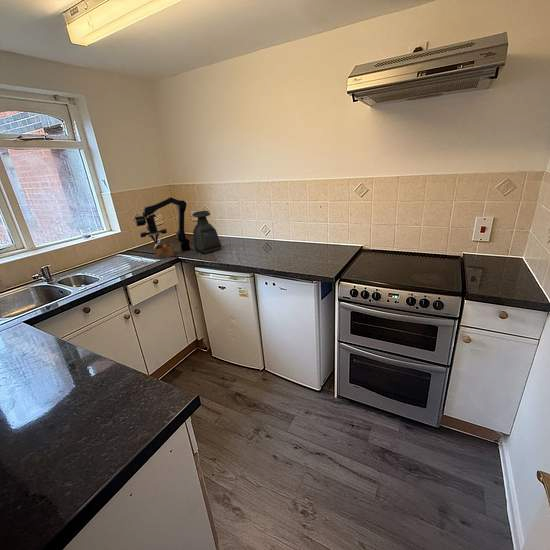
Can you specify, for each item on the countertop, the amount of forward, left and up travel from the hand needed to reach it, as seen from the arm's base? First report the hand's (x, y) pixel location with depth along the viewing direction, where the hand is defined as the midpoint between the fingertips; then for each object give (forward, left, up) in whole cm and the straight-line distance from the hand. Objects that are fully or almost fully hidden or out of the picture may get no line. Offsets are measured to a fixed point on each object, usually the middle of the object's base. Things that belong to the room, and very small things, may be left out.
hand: (156, 243), depth 228 cm
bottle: (-36, +9, -10) cm, 39 cm away
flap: (-1, 0, 0) cm, 1 cm away
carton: (-4, 0, -10) cm, 11 cm away
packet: (-7, 0, -6) cm, 9 cm away
